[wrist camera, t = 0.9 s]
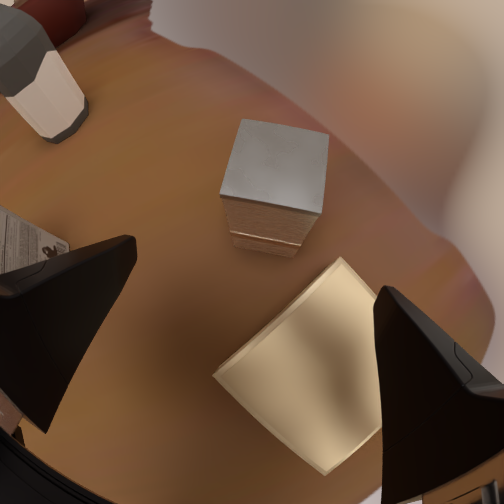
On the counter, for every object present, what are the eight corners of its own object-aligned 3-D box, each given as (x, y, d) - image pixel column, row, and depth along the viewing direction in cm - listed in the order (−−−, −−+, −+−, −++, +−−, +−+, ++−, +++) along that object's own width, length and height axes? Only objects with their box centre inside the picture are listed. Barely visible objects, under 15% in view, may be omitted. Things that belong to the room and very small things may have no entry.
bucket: (71, 48, 34) (31, -32, 9) (6, 84, 33) (-36, 25, 9) (105, 5, 40) (83, -58, 15) (45, 33, 39) (17, -19, 15)
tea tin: (293, 258, 23) (321, 213, 13) (233, 247, 23) (219, 193, 13) (302, 204, 24) (329, 134, 14) (246, 193, 24) (242, 118, 15)
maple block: (314, 454, 18) (325, 477, 14) (219, 365, 21) (211, 375, 17) (409, 360, 20) (435, 365, 16) (326, 267, 23) (341, 255, 18)
